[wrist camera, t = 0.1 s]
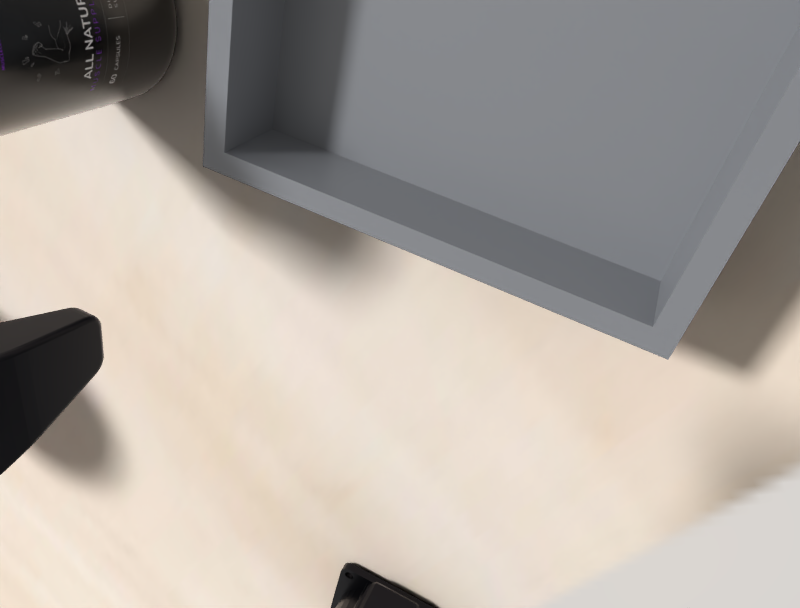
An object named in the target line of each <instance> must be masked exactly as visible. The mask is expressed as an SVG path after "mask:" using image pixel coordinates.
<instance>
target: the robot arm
mask: <svg viewBox="0 0 800 608" xmlns="http://www.w3.org/2000/svg"><path fill="white" fill-rule="evenodd" d="M103 358H104V354H103V342H102V330H101V323H100V321H99V319H98V318H97V317H95V316H93V315H91V314H89V313H87V312H85V311H83V310H81V309H78V308H67V309H62V310H58V311H53V312H48V313H43V314H39V315H34V316H29V317H25V318H20V319H15V320H11V321H6V322H1V323H0V475H1V474H2V473H3V472H4V471H5V470H6V469H7V468H9V467H10V466H11V465H12V464H13V463H14V462H15V461H16V460H17V459H18V458H19V457H20V456H21V455H22V454H23V453H24V452H26V451H27V450H28V449H29V448H30V447H31V446H32V445H33V443H34V442H35V441H36V440H37V439H38V438H39V437H40V436H41V435H42V434H43V433H44V432H45V431H46V430H47V428H48V427H49V426H50V425H51V424H52V423H53V422H54V421H55V419H56V418H57V417H58V416H59V415H60V414H61V413H62V412H63V410H64V409H65V408H66V407H67V406H68V405H69V404H70V403H71V401H72V400H73V399H74V398H75V397H76V396H77V395H78V394H79V392H80V391H81V390H82V389H83V388H84V387H85V386H86V385H87V383H88V382H89V381H90V380H91V379H92V378H93V377H94V376H95V374H96V373H97V372H98V370H99V369H100V367H101V365H102V363H103ZM331 608H434V607H432V606H430V605H428V604H426V603H424V602H422V601H421V600H419V599H417V598H415V597H413V596H411V595H409V594H408V593H406V592H404V591H402V590H400V589H398V588H396V587H395V586H393V585H391V584H389V583H387V582H385V581H383V580H382V579H380V578H378V577H376V576H374V575H372V574H370V573H369V572H367V571H365V570H363V569H361V568H359V567H357V566H356V565H354V564H351V563H346V564H345V565H344V567H343V569H342V570H341V573H340V577H339V580H338V584H337V587H336V591H335V594H334V598H333V601H332V605H331Z"/></svg>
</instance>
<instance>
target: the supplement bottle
mask: <svg viewBox="0 0 800 608" xmlns="http://www.w3.org/2000/svg"><path fill="white" fill-rule="evenodd" d="M176 33H177V20H176V10H175V4H174V0H0V136H2V135H6V134H9V133H13V132H16V131H20V130H23V129H27V128H30V127H34V126H37V125H41V124H44V123H48V122H51V121H55V120H58V119H62V118H65V117H69V116H72V115H76V114H79V113H83V112H86V111H90V110H93V109H97V108H100V107H104V106H107V105H110V104H114V103H117V102H120V101H123V100H127V99H130V98H133V97H136V96H138V95H141V94H143V93H145V92H147V91H148V90H150V89H151V88H152V87H154V86H155V85H156V84H157V83H158V82H159V81H160V79H161V78H162V77H163V75H164V74H165V72H166V70H167V69H168V67H169V64H170V62H171V59H172V56H173V53H174V48H175V43H176Z"/></svg>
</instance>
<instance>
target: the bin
mask: <svg viewBox="0 0 800 608" xmlns="http://www.w3.org/2000/svg"><path fill="white" fill-rule="evenodd" d="M799 142H800V0H209V18H208V45H207V72H206V99H205V126H204V153H203V167H206V168H208V169H211V170H213V171H215V172H218V173H220V174H223V175H225V176H227V177H230V178H232V179H235V180H237V181H239V182H242V183H244V184H247V185H249V186H252V187H254V188H256V189H259V190H261V191H264V192H266V193H268V194H271V195H273V196H276V197H278V198H280V199H283V200H285V201H288V202H290V203H292V204H295V205H297V206H300V207H302V208H304V209H307V210H309V211H312V212H314V213H316V214H319V215H321V216H324V217H326V218H329V219H331V220H333V221H336V222H338V223H341V224H343V225H345V226H348V227H350V228H353V229H355V230H357V231H360V232H362V233H365V234H367V235H369V236H372V237H374V238H377V239H379V240H381V241H384V242H386V243H389V244H391V245H393V246H396V247H398V248H401V249H403V250H406V251H408V252H410V253H413V254H415V255H418V256H420V257H422V258H425V259H427V260H430V261H432V262H434V263H437V264H439V265H442V266H444V267H446V268H449V269H451V270H454V271H456V272H458V273H461V274H463V275H466V276H468V277H470V278H473V279H475V280H478V281H480V282H483V283H485V284H487V285H490V286H492V287H495V288H497V289H499V290H502V291H504V292H507V293H509V294H511V295H514V296H516V297H519V298H521V299H523V300H526V301H528V302H531V303H533V304H535V305H538V306H540V307H543V308H545V309H548V310H550V311H552V312H555V313H557V314H560V315H562V316H564V317H567V318H569V319H572V320H574V321H576V322H579V323H581V324H584V325H586V326H588V327H591V328H593V329H596V330H598V331H600V332H603V333H605V334H608V335H610V336H612V337H615V338H617V339H620V340H622V341H625V342H627V343H629V344H632V345H634V346H637V347H639V348H641V349H644V350H646V351H649V352H651V353H653V354H656V355H658V356H661V357H663V358H665V359H669V357H670V356H671V354H672V353H673V351H674V349H675V348H676V346H677V344H678V343H679V341H680V339H681V338H682V336H683V334H684V333H685V331H686V329H687V328H688V326H689V324H690V323H691V321H692V319H693V318H694V316H695V314H696V313H697V311H698V309H699V308H700V306H701V304H702V303H703V301H704V299H705V298H706V296H707V294H708V293H709V291H710V289H711V288H712V286H713V284H714V283H715V281H716V279H717V278H718V276H719V275H720V273H721V271H722V270H723V268H724V266H725V265H726V263H727V261H728V260H729V258H730V256H731V255H732V253H733V251H734V250H735V248H736V246H737V245H738V243H739V241H740V240H741V238H742V236H743V235H744V233H745V231H746V230H747V228H748V226H749V225H750V223H751V221H752V220H753V218H754V216H755V215H756V213H757V211H758V210H759V208H760V206H761V205H762V203H763V201H764V200H765V198H766V197H767V195H768V193H769V192H770V190H771V188H772V187H773V185H774V183H775V182H776V180H777V178H778V177H779V175H780V173H781V172H782V170H783V168H784V167H785V165H786V163H787V162H788V160H789V158H790V157H791V155H792V153H793V152H794V150H795V148H796V147H797V145H798V143H799Z"/></svg>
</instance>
